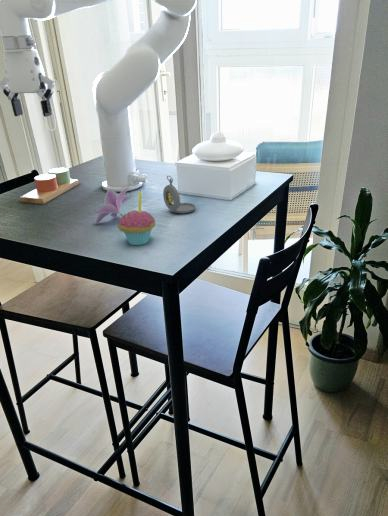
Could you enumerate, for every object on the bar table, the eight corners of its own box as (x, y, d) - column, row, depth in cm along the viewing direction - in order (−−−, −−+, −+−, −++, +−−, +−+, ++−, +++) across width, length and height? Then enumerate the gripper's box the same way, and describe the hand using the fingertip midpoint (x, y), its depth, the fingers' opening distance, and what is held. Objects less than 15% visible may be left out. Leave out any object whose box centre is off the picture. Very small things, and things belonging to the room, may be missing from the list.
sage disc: (74, 179, 155) (72, 168, 153) (63, 185, 150) (61, 173, 148) (57, 178, 157) (55, 167, 155) (46, 184, 152) (43, 172, 150)
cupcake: (141, 232, 118) (136, 182, 112) (164, 240, 113) (160, 189, 107) (113, 242, 114) (106, 191, 107) (136, 252, 109) (129, 199, 102)
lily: (141, 217, 130) (122, 184, 127) (149, 213, 119) (130, 177, 116) (103, 239, 128) (83, 206, 125) (108, 237, 117) (87, 201, 114)
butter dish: (230, 200, 136) (230, 140, 127) (176, 193, 143) (173, 136, 134) (256, 183, 148) (257, 127, 139) (205, 177, 156) (203, 124, 147)
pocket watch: (198, 207, 132) (197, 169, 126) (188, 217, 125) (186, 178, 120) (171, 205, 134) (168, 168, 129) (159, 215, 128) (156, 177, 122)
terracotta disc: (62, 186, 149) (59, 174, 147) (50, 192, 144) (48, 180, 142) (44, 185, 151) (42, 173, 149) (32, 191, 146) (29, 179, 144)
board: (78, 184, 155) (78, 179, 155) (43, 203, 140) (42, 198, 139) (57, 182, 158) (56, 178, 157) (20, 202, 142) (19, 197, 142)
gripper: (53, 42, 126) (66, 113, 136) (-1, 44, 131) (15, 113, 141) (37, 44, 121) (52, 118, 130) (-19, 46, 126) (-1, 117, 135)
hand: (33, 115), depth 136 cm, fingers open, 9 cm apart
